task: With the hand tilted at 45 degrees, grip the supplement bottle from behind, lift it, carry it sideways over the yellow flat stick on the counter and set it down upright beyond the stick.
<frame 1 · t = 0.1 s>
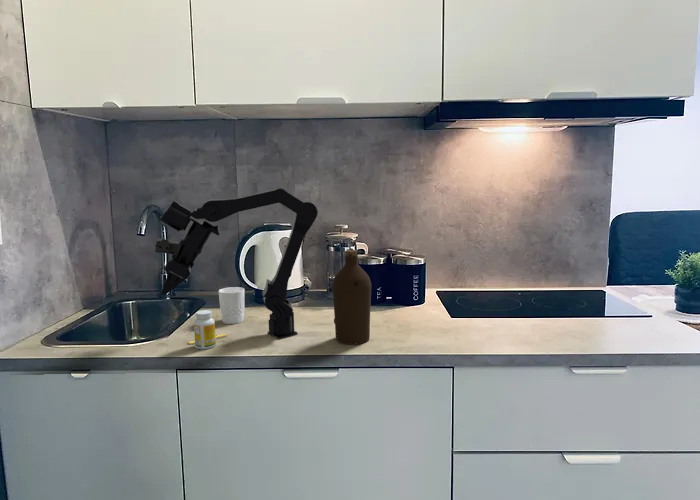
hand: (165, 290, 144), 15 cm above the worktop, tool tilted 35°, fingers open, 9 cm apart
white cup: (233, 321, 167), on the worktop
supplement bottle: (205, 347, 143), on the worktop
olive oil: (352, 339, 147), on the worktop
yellow flat stick: (207, 339, 149), on the worktop
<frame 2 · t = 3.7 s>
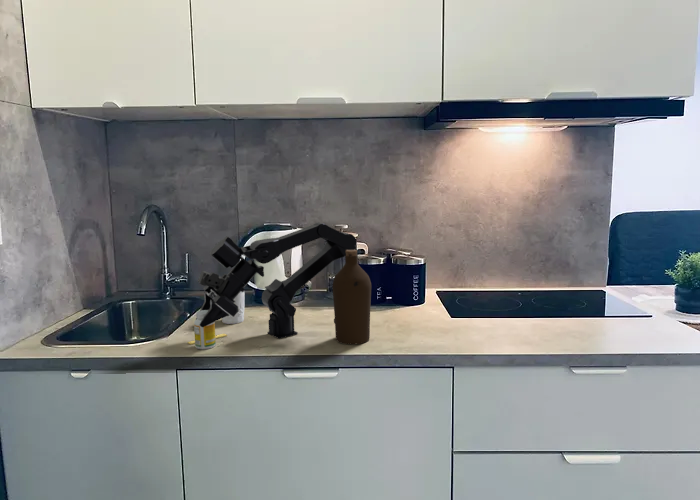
hand: (198, 323, 142), 7 cm above the worktop, tool tilted 45°, fingers closed on supplement bottle, 5 cm apart
supplement bottle: (205, 347, 143), on the worktop, touching gripper
everything else where it was.
when the fingers open (8 cm above the worktop, at t = 7.1 s): supplement bottle stays where it is, on the worktop.
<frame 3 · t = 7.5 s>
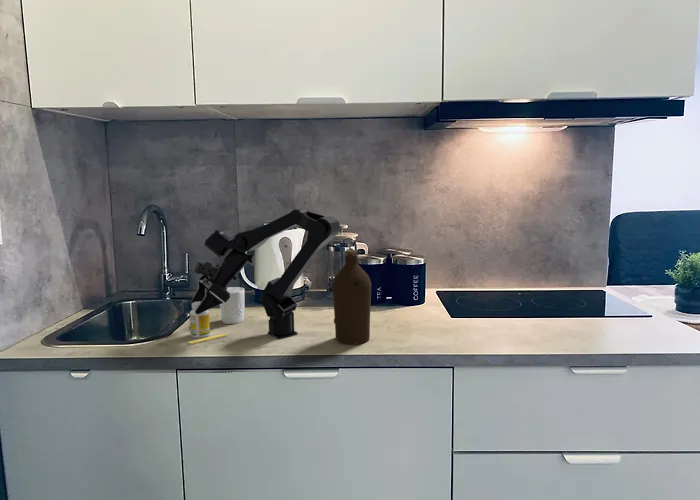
hand: (193, 309, 151), 8 cm above the worktop, tool tilted 45°, fingers open, 9 cm apart
supplement bottle: (200, 336, 153), on the worktop
everything else where it was.
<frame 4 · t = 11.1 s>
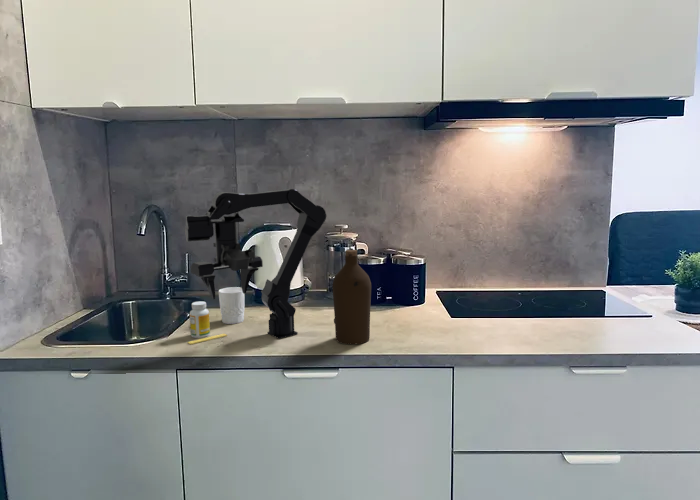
hand: (229, 296, 145), 13 cm above the worktop, tool pointing down, fingers open, 9 cm apart
nothing on the worktop moved.
at the end: supplement bottle inside the target area (3.3 cm from its centre), on the worktop; supplement bottle tilted 0°; the gripper is holding nothing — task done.
